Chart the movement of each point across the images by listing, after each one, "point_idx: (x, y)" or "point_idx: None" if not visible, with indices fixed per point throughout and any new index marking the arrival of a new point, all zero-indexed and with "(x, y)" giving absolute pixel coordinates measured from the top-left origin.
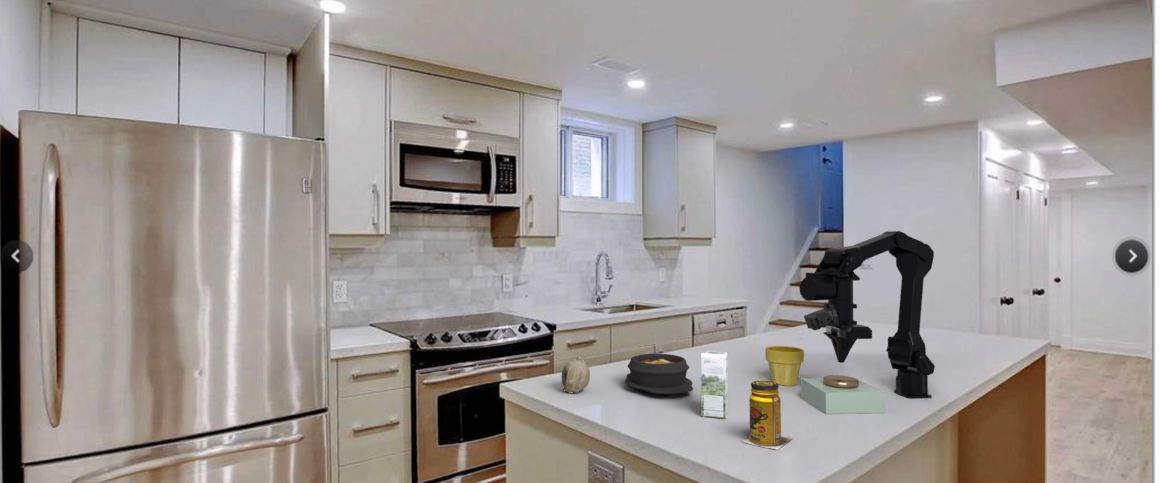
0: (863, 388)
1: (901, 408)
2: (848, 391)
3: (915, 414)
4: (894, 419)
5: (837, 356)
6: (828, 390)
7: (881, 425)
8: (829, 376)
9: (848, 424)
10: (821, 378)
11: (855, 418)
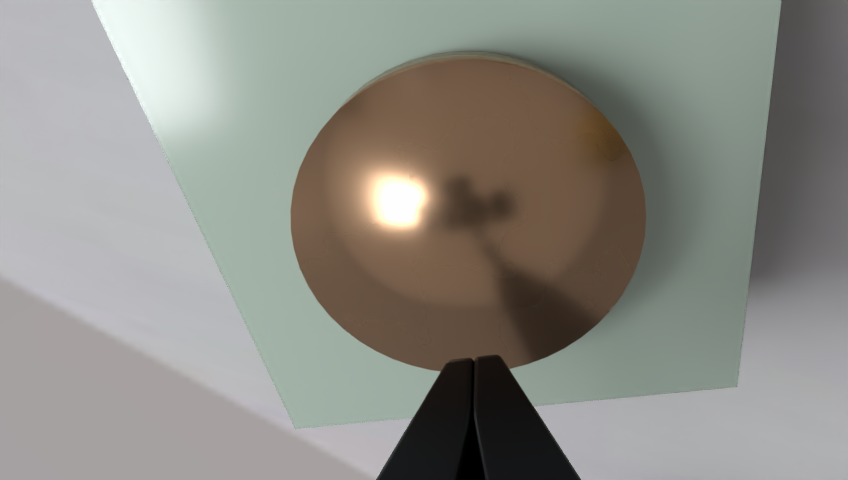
0: (359, 343)
1: None
2: (217, 210)
3: (341, 438)
4: (223, 337)
5: (484, 412)
6: (192, 31)
7: (81, 248)
8: (581, 160)
9: (3, 70)
10: (757, 95)
11: (162, 153)
